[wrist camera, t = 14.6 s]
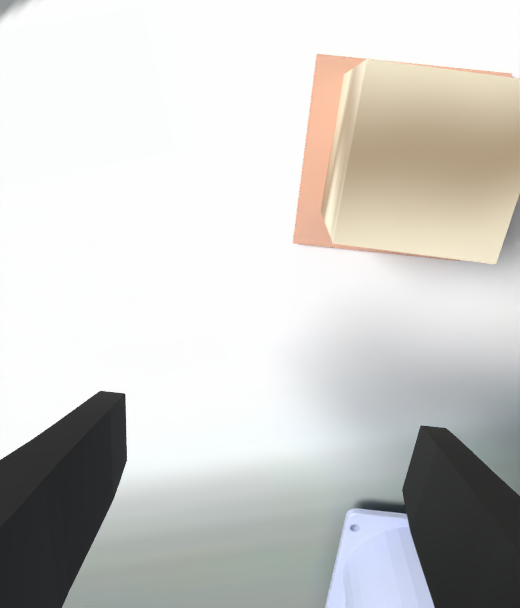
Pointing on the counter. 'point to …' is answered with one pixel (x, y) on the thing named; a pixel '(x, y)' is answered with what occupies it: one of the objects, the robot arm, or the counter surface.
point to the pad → (328, 149)
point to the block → (424, 161)
